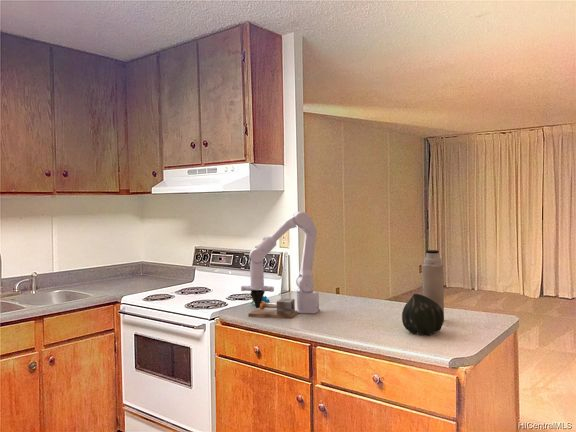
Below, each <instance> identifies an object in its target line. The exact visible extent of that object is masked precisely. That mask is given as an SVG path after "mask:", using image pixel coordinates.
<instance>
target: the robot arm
mask: <svg viewBox="0 0 576 432" xmlns="http://www.w3.org/2000/svg"><path fill="white" fill-rule="evenodd" d="M297 227H299V228H300V229H301V231H302V232H303V233H304V239H303V240H304V242H303V250H302V256H301V257H302V258H301V265H300V270H299V273H298V276H297V278H296V281H295V283H296V286H297V289H296V304H297V305H296V308H297V309H296V310H297V311H298V313H297V314H317V313H318V312H319V310H320V297H319V292H318V291H314V280H313V265H314V264H313V263H314V256H315V248H316V247H315V246H316V240H317V232H318V231H317V228H316V226H315V224H314V222H313V219H312V217H311V216H310V215H309V214H308V213H307V212H304V211H295V212H294V213H293V214H292V215H291V216H289V217H288V218H287V219H286V220H285V221H284V222H283V223H282V224H281V225H280V226H279V227H278V228H277V229H276V231H275V232H274V233H272V235H267V236H266V237H265V236H264V237H262V241H260V242H259V243H258V244H257V245H254V248H253V249H252V250H250V252H249V254H248V257H249V259H250V262H249V263H250V266H249V271H250V272H249V273H250V285H242V286H240V292H250V296H251V298H252V299H253V300H254V302H253V303H254V305H255V306H254V307H255V309H260V302H261V300H262V297H263V296H265V295H264V294H265V293H266V292H270V293H273V292H274V291H275V287H274V286H268V285H265V279H264V278H265V277H264V275H265V274H264V273H265V272H264V262H263V261H264V259H265V257H266V256H267V255H268V254H269V253H271V251H272V250H273V249H275V248H276V247H277V242H278V241H279V240H280V238H281V237H283V236H284V235H285V234H286V233H287V232H288V231H289V230H291V229H295V228H297ZM253 300H252V301H253Z"/></svg>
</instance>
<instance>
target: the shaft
mask: <svg viewBox="0 0 576 432" xmlns="http://www.w3.org/2000/svg"><path fill="white" fill-rule="evenodd" d="M259 309H263V310H264V309H277V302H276V303H274V302H273V303H272V302H270V303H265V302H264V301H261V302H260V308H259Z"/></svg>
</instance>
